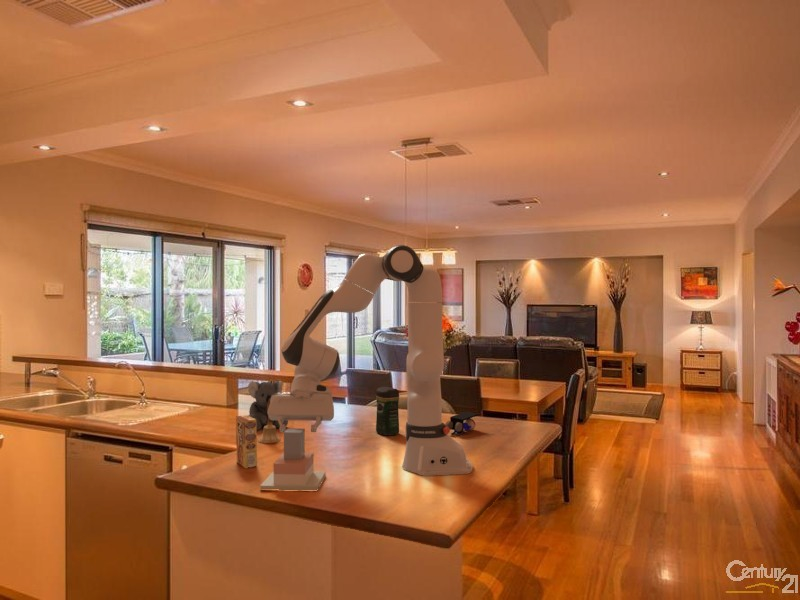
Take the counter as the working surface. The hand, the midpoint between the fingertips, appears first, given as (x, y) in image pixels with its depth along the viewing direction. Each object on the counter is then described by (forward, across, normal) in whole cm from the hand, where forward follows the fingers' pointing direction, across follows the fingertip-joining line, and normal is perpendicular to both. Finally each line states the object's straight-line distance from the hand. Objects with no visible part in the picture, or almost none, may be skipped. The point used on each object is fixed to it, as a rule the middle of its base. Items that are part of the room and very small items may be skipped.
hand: (297, 431), depth 171 cm
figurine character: (-33, +53, +54) cm, 83 cm away
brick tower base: (+13, 0, +7) cm, 15 cm away
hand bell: (-22, -21, +42) cm, 52 cm away
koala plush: (-39, -30, +60) cm, 78 cm away
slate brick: (+8, 0, +2) cm, 8 cm away
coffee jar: (-31, +23, +52) cm, 65 cm away
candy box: (0, -20, +20) cm, 29 cm away
